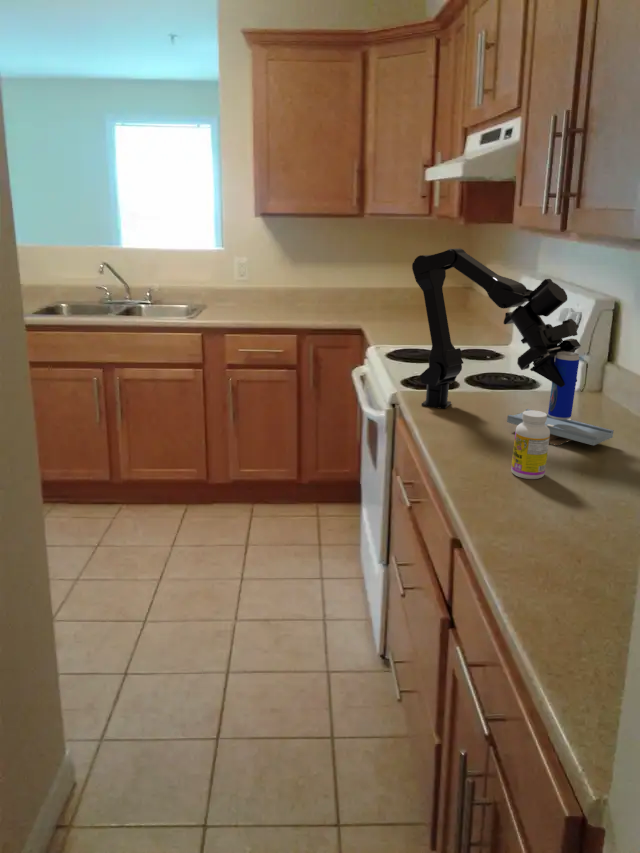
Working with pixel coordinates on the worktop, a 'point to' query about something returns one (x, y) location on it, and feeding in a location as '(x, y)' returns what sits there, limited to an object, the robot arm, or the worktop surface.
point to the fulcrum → (557, 439)
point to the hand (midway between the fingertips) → (569, 384)
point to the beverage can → (564, 395)
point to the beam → (571, 429)
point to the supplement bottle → (531, 446)
